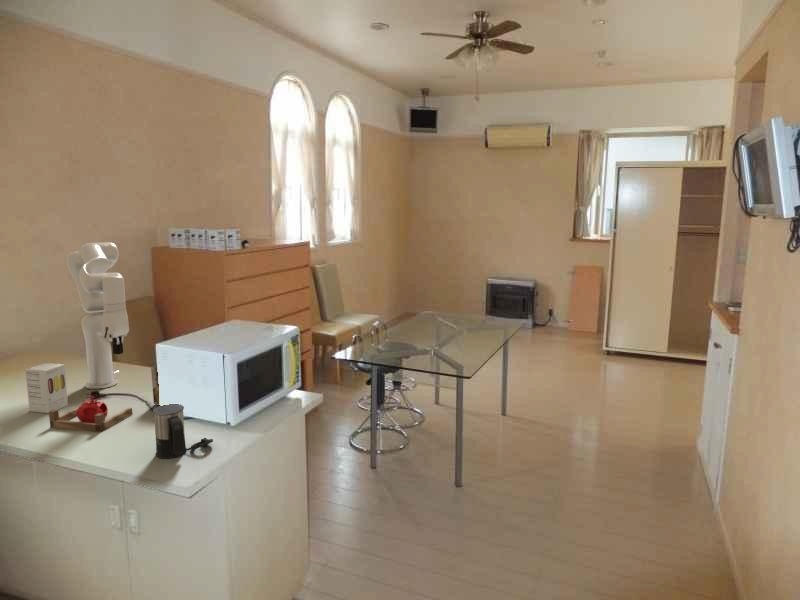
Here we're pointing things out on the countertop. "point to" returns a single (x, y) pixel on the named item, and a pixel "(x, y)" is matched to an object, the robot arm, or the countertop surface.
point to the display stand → (98, 426)
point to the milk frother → (172, 432)
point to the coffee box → (155, 384)
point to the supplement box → (46, 387)
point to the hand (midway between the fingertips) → (118, 353)
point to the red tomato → (91, 410)
